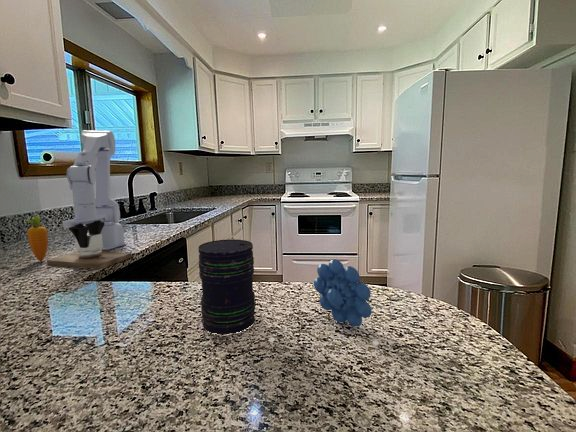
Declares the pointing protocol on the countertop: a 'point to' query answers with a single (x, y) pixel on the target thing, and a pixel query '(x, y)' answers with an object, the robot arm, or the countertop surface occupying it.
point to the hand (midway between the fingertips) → (89, 245)
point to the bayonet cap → (91, 246)
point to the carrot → (37, 238)
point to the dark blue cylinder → (227, 285)
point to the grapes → (343, 292)
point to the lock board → (89, 260)
